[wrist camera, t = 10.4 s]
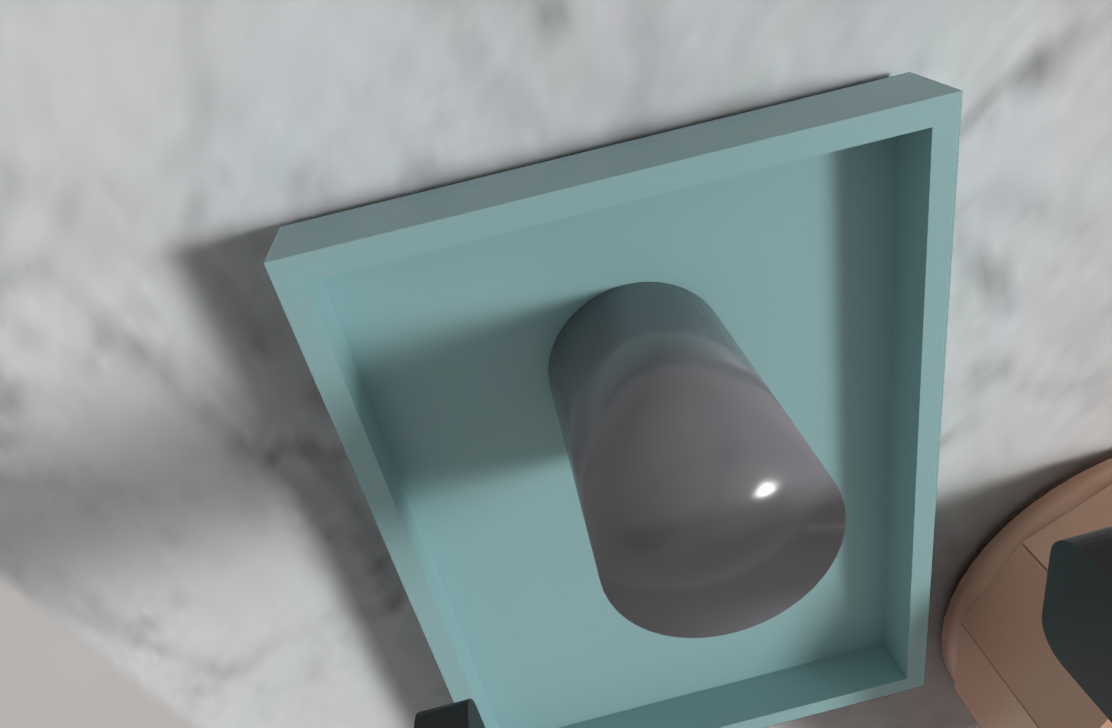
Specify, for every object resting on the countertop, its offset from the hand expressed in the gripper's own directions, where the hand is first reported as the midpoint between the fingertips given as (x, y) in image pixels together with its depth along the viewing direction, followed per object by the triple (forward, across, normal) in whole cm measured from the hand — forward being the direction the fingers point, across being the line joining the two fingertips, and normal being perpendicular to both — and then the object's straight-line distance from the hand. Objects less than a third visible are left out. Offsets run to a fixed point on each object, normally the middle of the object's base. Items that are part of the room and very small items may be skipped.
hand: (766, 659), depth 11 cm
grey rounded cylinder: (+7, 0, -1) cm, 7 cm away
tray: (+8, 0, +3) cm, 8 cm away
